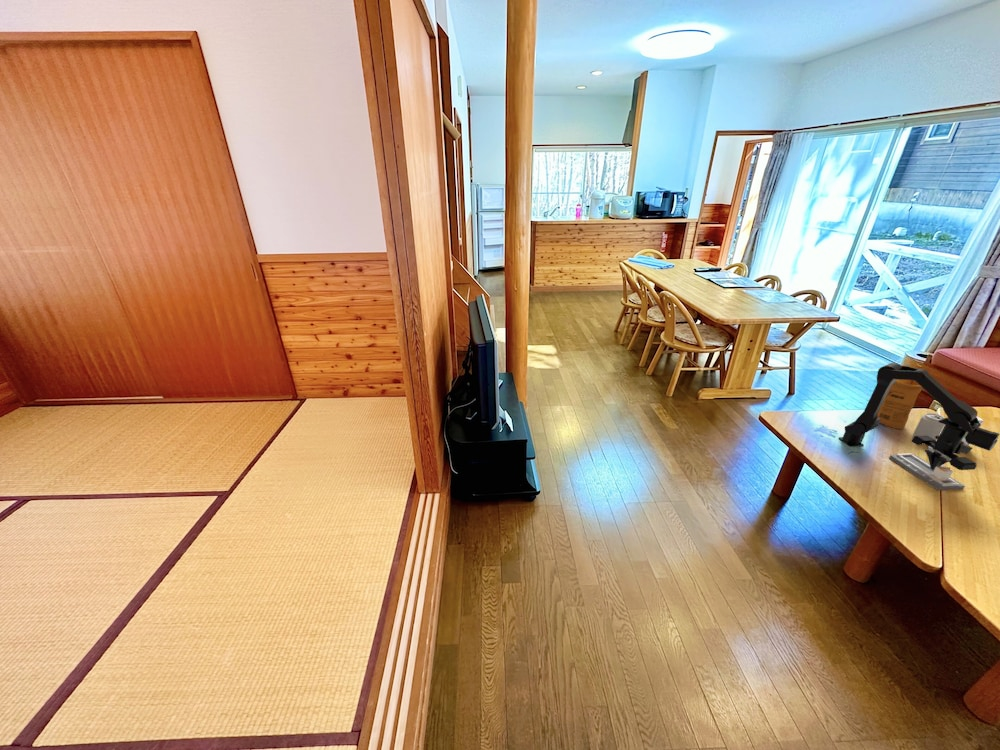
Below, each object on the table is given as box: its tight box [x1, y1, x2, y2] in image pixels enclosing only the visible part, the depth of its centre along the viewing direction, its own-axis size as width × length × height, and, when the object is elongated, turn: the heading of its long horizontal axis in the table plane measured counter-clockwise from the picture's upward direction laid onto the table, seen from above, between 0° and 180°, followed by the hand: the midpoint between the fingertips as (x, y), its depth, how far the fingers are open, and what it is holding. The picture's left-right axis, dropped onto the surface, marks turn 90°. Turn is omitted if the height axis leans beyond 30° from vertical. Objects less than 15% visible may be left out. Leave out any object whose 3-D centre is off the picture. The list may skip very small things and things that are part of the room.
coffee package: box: [877, 380, 923, 430], centre depth 188 cm, size 10×12×22 cm
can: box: [912, 412, 945, 441], centre depth 178 cm, size 8×8×12 cm
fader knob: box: [932, 465, 954, 481], centre depth 153 cm, size 4×3×5 cm
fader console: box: [888, 452, 966, 491], centre depth 159 cm, size 10×20×2 cm, turn 2°
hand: (932, 469), depth 157 cm, fingers closed
